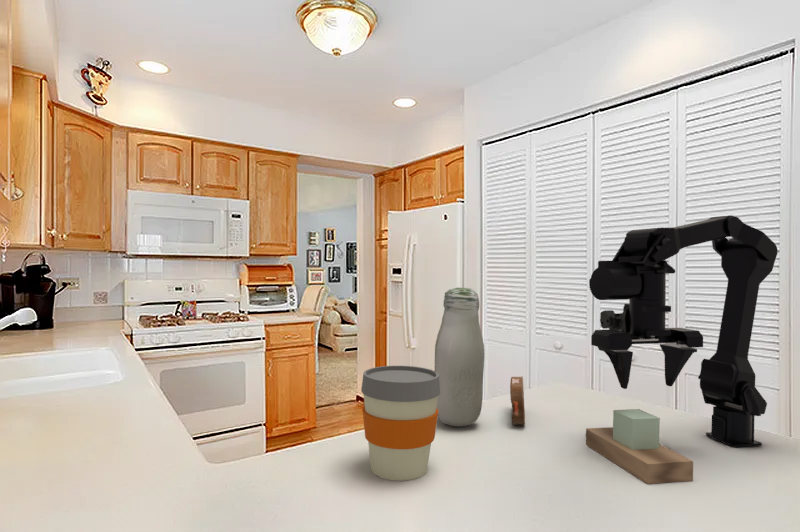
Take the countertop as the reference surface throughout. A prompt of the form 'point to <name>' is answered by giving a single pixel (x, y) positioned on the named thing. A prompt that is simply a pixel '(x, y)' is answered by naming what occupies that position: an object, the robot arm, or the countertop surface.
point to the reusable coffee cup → (400, 419)
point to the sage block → (636, 429)
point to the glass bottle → (460, 359)
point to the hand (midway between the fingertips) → (646, 387)
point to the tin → (517, 401)
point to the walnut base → (641, 458)
